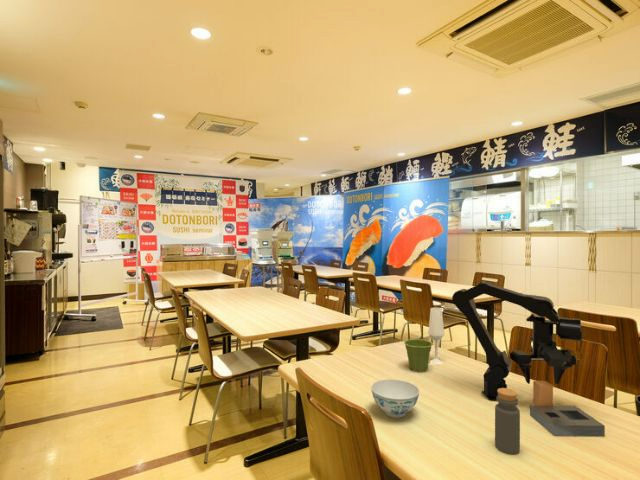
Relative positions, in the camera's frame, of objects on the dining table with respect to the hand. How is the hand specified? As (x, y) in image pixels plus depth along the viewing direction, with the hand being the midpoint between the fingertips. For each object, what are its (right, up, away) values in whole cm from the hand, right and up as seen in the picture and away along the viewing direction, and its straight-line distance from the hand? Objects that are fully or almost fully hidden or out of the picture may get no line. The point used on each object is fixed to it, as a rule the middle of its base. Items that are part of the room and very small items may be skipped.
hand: (542, 383), depth 118 cm
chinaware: (-49, -8, -3) cm, 50 cm away
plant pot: (-31, -8, +35) cm, 47 cm away
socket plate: (0, -8, -11) cm, 14 cm away
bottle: (-23, -8, -23) cm, 34 cm away
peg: (0, -8, 0) cm, 8 cm away
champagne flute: (-21, -8, +42) cm, 48 cm away
